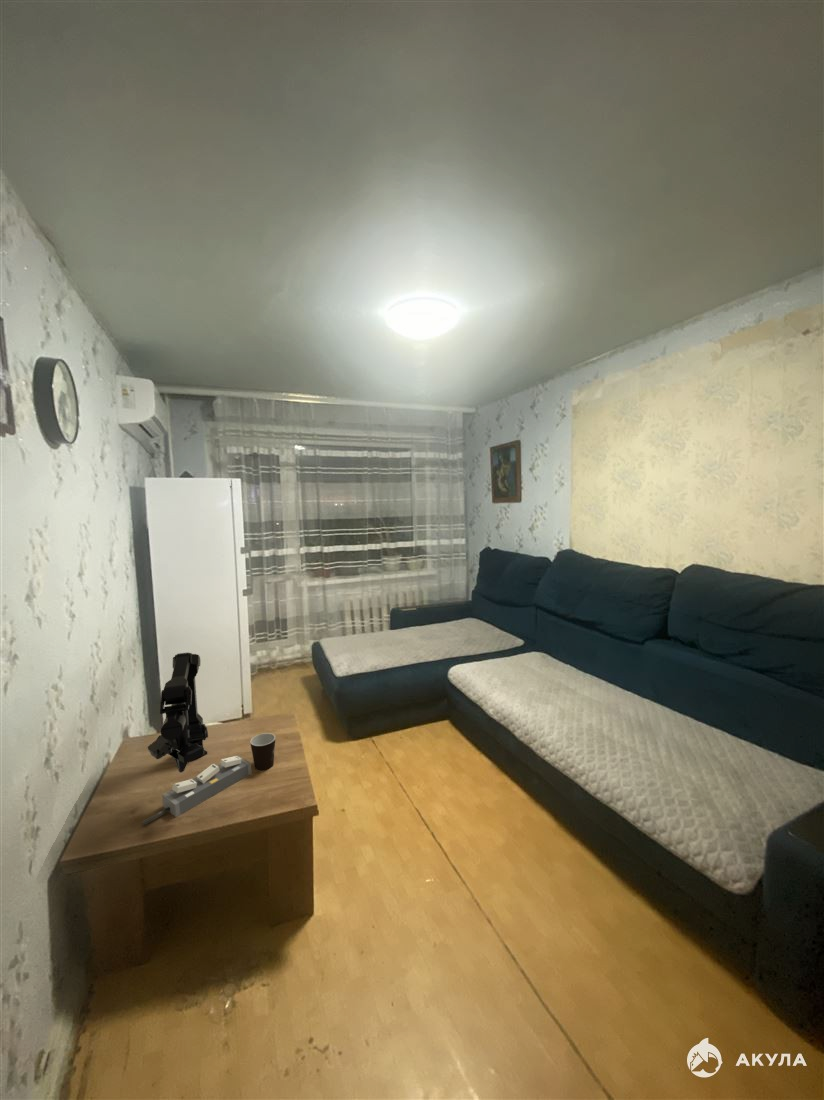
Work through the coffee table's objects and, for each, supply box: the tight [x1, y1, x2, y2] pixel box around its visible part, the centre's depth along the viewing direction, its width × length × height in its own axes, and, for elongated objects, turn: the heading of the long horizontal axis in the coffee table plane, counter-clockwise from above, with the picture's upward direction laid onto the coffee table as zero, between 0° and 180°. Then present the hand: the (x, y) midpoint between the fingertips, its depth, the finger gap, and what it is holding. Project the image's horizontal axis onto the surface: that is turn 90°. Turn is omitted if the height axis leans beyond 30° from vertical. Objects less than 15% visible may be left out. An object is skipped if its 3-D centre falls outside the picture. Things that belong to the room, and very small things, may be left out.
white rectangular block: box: [171, 778, 197, 793], centre depth 139 cm, size 3×6×2 cm, turn 144°
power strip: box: [141, 754, 252, 826], centre depth 143 cm, size 8×34×4 cm, turn 144°
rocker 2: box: [196, 763, 220, 784], centre depth 146 cm, size 3×6×2 cm, turn 144°
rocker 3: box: [219, 755, 242, 767], centre depth 152 cm, size 3×6×2 cm, turn 144°
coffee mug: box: [249, 732, 276, 772], centre depth 160 cm, size 12×9×10 cm
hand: (181, 771), depth 139 cm, fingers closed
